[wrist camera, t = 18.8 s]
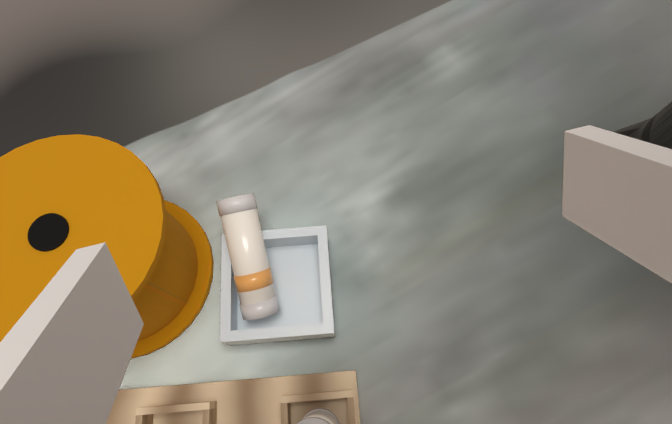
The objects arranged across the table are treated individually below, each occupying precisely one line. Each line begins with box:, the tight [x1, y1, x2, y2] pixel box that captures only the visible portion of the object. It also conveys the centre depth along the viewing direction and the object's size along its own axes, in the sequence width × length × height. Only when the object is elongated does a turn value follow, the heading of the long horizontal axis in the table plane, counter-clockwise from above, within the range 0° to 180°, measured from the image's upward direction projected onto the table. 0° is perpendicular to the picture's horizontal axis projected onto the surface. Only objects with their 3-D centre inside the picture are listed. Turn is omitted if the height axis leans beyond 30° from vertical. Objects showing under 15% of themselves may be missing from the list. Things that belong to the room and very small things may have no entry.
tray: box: [220, 226, 335, 345], centre depth 46 cm, size 11×11×4 cm
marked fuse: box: [216, 193, 280, 320], centre depth 44 cm, size 4×4×12 cm
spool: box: [0, 134, 213, 359], centre depth 41 cm, size 18×18×15 cm
